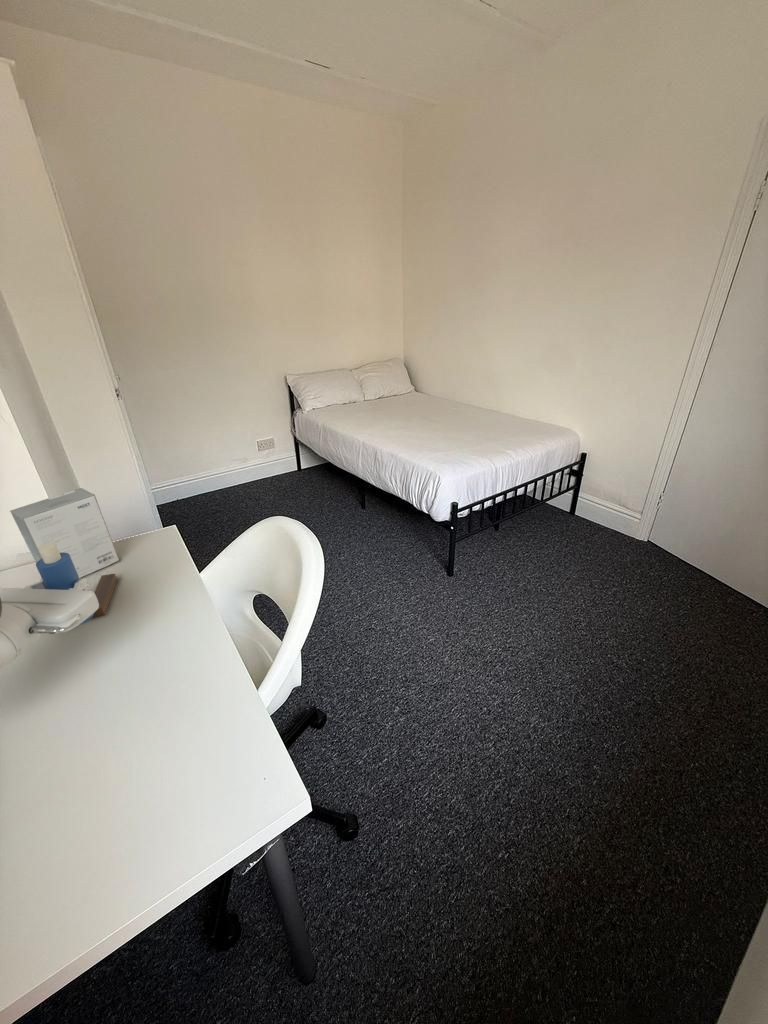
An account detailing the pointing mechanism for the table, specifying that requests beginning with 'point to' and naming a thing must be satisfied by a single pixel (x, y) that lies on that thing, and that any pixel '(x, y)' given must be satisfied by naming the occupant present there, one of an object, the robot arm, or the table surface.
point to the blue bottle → (57, 569)
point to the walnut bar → (104, 592)
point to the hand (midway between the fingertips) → (67, 580)
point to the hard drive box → (68, 529)
